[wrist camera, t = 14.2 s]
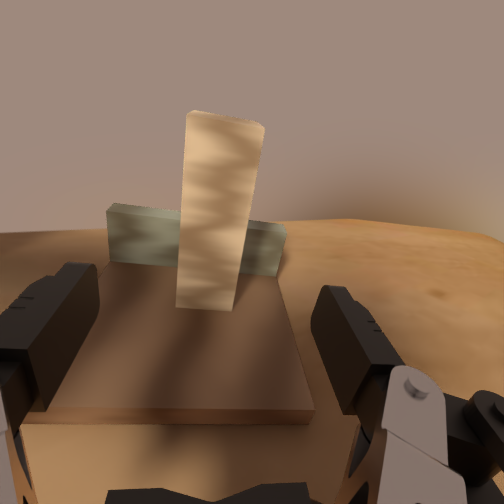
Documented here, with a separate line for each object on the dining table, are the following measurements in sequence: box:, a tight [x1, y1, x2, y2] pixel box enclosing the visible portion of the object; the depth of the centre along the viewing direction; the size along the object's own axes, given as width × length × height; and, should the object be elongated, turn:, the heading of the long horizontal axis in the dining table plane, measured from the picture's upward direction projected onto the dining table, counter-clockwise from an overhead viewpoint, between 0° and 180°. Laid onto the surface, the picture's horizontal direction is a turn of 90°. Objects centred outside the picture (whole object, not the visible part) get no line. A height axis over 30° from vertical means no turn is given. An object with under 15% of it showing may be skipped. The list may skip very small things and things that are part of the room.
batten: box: [176, 110, 265, 312], centre depth 21 cm, size 4×4×14 cm
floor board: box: [21, 203, 315, 424], centre depth 21 cm, size 16×16×6 cm
